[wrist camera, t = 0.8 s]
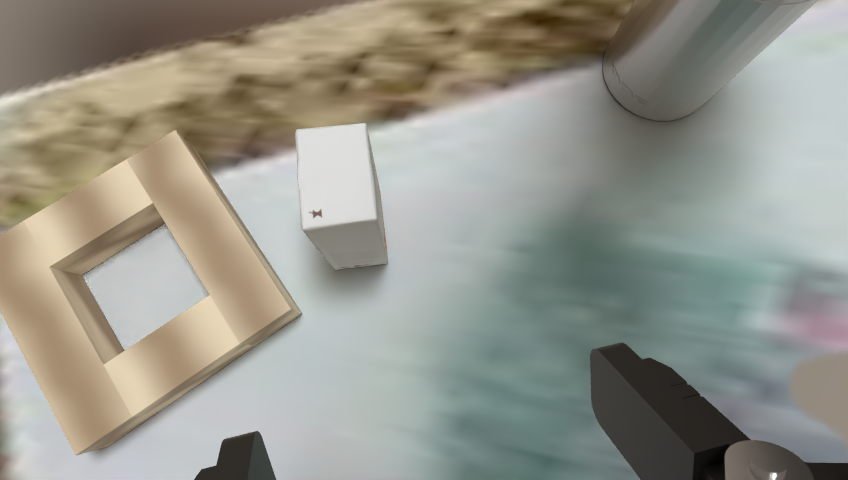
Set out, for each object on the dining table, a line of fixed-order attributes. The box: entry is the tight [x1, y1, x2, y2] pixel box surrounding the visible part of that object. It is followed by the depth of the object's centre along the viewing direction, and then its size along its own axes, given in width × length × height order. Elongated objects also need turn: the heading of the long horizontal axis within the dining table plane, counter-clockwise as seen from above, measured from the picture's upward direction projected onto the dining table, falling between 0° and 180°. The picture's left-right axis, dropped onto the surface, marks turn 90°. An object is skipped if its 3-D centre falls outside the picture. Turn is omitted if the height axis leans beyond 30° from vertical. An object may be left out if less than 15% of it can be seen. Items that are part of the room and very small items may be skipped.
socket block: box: [0, 131, 302, 455], centre depth 37 cm, size 16×16×4 cm
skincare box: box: [295, 123, 388, 270], centre depth 34 cm, size 6×4×12 cm
